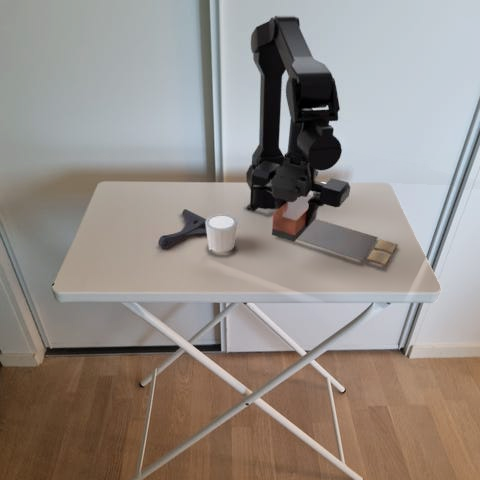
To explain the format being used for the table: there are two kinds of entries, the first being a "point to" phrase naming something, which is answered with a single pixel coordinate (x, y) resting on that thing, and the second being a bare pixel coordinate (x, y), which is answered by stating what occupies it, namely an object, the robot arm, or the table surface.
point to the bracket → (185, 229)
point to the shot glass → (221, 232)
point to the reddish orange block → (291, 219)
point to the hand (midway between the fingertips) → (294, 222)
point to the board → (338, 239)
